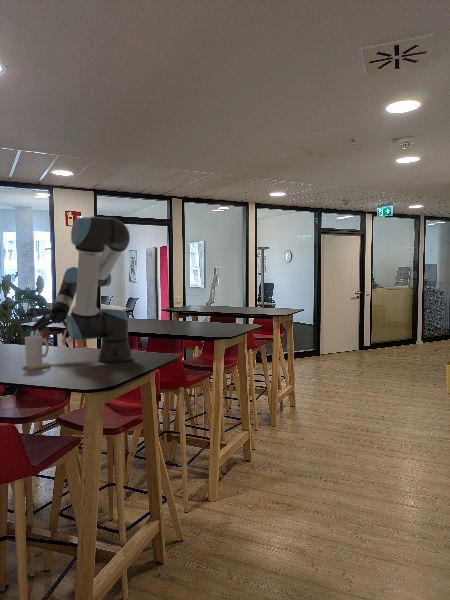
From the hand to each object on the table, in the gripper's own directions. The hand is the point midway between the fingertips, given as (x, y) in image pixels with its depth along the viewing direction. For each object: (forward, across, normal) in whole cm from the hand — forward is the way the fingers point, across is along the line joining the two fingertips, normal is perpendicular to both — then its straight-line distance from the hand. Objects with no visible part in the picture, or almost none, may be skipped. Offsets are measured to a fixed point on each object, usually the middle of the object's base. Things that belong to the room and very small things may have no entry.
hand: (48, 343), depth 206 cm
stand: (+14, 0, +1) cm, 14 cm away
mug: (+13, 0, +2) cm, 13 cm away
